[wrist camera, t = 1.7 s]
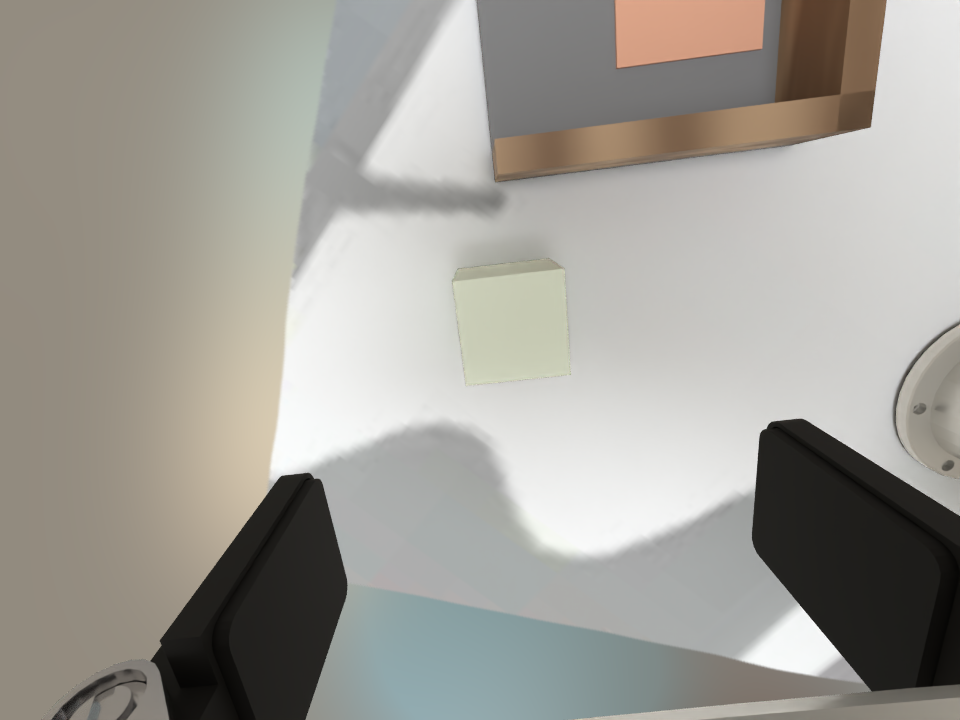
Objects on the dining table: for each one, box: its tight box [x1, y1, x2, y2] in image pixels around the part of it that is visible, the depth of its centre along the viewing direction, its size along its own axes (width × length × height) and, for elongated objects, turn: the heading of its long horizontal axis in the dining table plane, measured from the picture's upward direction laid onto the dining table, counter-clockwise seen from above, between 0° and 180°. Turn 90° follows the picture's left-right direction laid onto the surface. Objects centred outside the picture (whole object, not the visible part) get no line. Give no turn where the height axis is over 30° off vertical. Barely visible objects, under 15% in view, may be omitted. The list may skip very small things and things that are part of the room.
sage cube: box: [452, 258, 571, 386], centre depth 28 cm, size 6×6×6 cm
